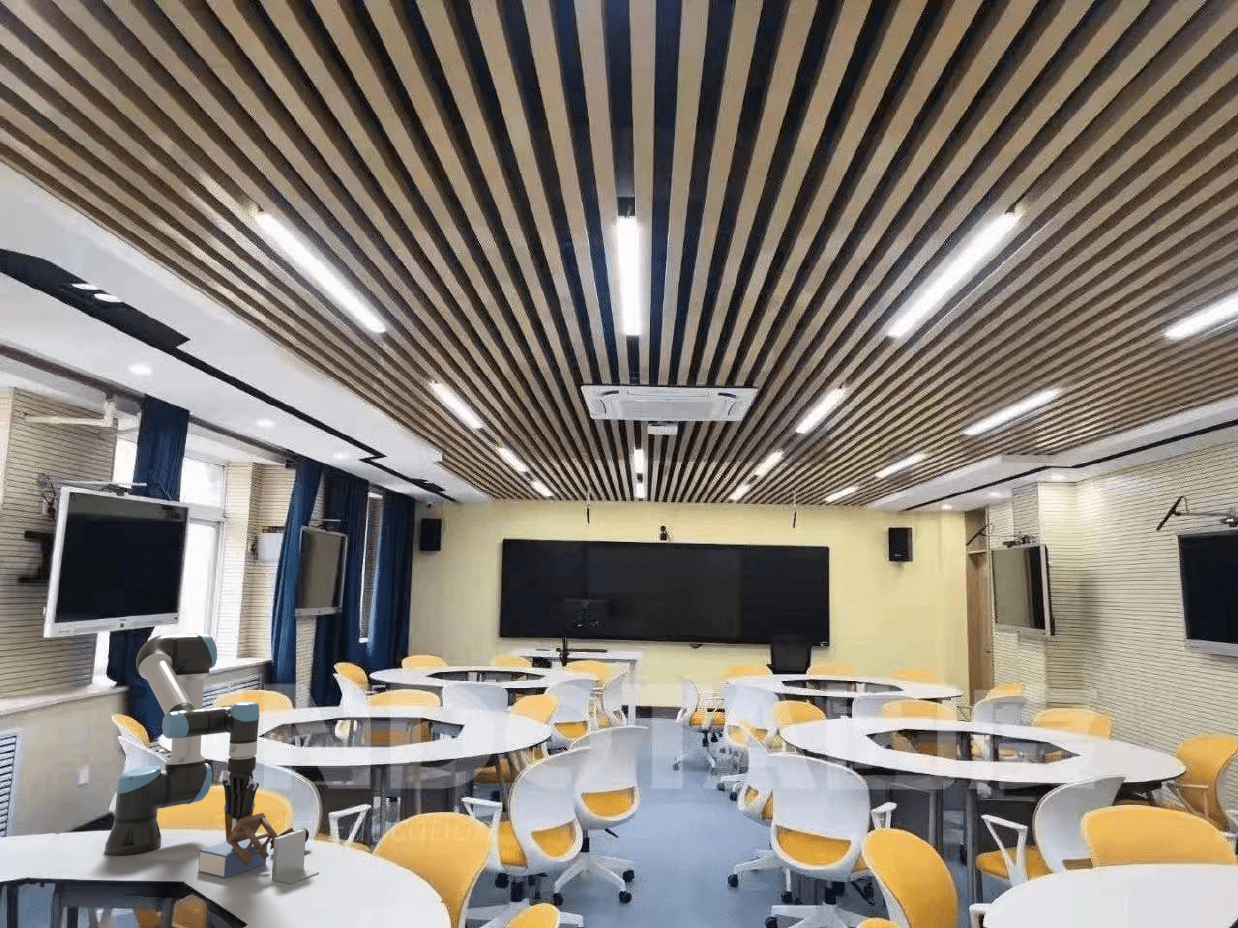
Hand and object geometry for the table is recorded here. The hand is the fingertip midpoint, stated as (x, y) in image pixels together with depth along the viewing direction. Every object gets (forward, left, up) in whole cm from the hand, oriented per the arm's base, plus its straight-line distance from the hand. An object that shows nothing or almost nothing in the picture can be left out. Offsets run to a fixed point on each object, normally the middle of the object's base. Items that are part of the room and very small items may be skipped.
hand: (236, 841), depth 244 cm
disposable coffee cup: (-22, +18, -8) cm, 29 cm away
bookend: (+20, +4, -8) cm, 22 cm away
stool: (+5, 0, -2) cm, 5 cm away
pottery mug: (+2, +18, -8) cm, 20 cm away
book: (-1, 0, -8) cm, 8 cm away
